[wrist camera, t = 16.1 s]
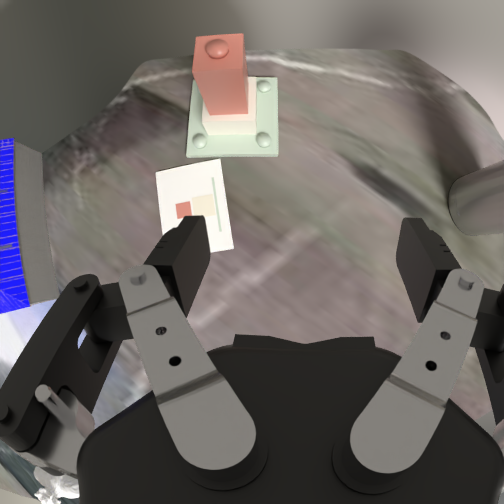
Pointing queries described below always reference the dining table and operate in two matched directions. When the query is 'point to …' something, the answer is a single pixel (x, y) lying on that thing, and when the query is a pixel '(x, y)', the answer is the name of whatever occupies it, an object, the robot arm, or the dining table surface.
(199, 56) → the tall brick
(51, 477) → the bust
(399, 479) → the robot arm
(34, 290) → the house
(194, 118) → the tower base
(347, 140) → the dining table surface
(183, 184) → the page
